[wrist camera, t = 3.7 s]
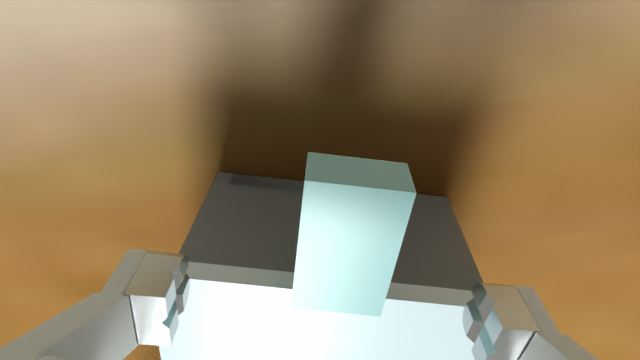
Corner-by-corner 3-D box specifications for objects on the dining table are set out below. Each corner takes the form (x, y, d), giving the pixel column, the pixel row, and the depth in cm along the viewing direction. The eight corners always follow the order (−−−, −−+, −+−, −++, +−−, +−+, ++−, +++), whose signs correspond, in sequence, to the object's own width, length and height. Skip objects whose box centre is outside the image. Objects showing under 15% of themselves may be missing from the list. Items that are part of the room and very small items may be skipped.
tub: (447, 196, 21) (491, 302, 15) (386, 374, 30) (399, 486, 24) (217, 171, 21) (171, 269, 15) (223, 359, 29) (194, 469, 23)
